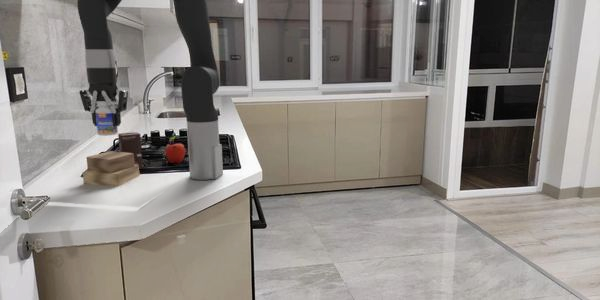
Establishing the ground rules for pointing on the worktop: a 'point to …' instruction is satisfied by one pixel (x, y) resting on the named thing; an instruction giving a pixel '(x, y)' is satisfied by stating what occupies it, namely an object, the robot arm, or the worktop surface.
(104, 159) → the walnut slab
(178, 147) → the apple
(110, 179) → the oak slab
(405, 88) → the worktop surface
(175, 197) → the worktop surface
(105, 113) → the pill bottle
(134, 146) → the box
